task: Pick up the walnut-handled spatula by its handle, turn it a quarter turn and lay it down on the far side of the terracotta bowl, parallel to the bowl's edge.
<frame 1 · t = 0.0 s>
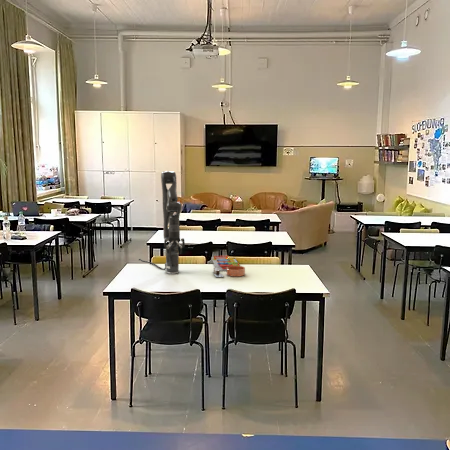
hand: (174, 253, 315), 17 cm above the table, tool pointing down, fingers open, 8 cm apart
gear board: (226, 264, 358), on the table
bowl: (235, 274, 325), on the table
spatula: (217, 275, 324), on the table
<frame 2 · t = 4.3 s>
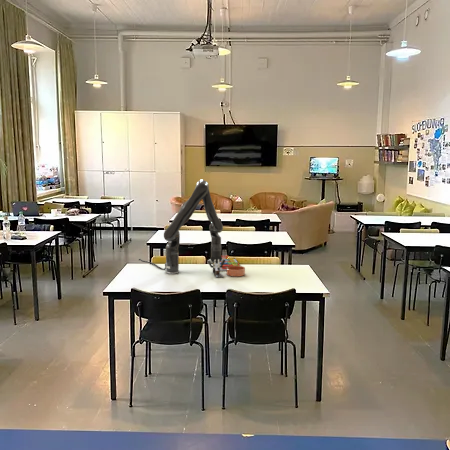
hand: (216, 272, 329), 0 cm above the table, tool pointing down, fingers closed on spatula, 2 cm apart
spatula: (217, 275, 324), on the table, touching gripper
everything else where it was.
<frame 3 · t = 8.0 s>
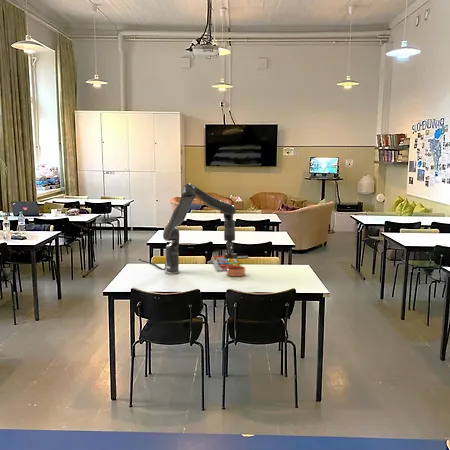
hand: (229, 257, 314), 14 cm above the table, tool pointing down, fingers closed on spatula
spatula: (236, 258, 315), point 14 cm above the table, touching gripper
everything else where it was.
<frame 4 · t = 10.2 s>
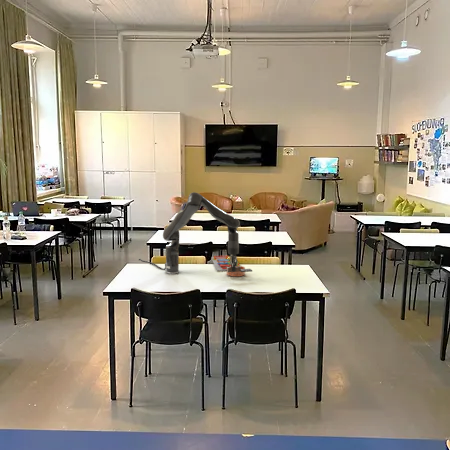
hand: (233, 271, 311), 6 cm above the table, tool pointing down, fingers closed on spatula
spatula: (240, 271, 313), point 6 cm above the table, touching gripper
everything else where it was.
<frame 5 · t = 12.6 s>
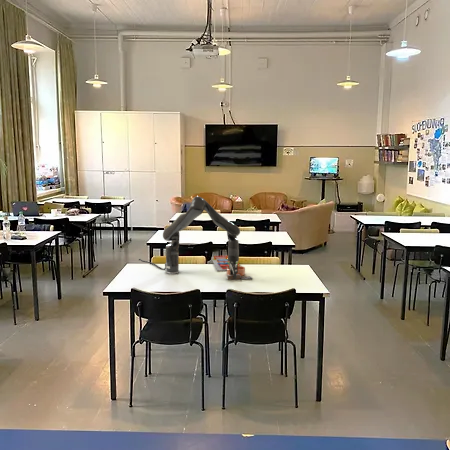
hand: (233, 276, 312), 2 cm above the table, tool pointing down, fingers open, 8 cm apart
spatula: (240, 279, 313), on the table
everything else where it was.
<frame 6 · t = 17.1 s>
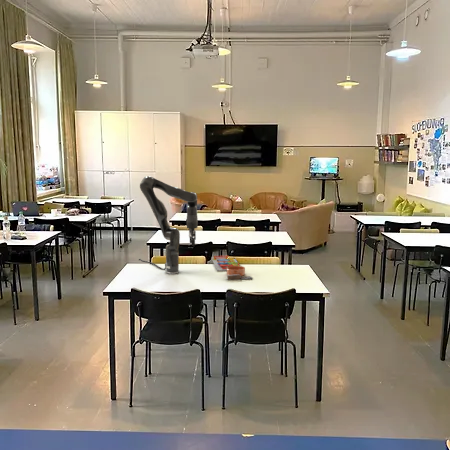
hand: (192, 244, 312), 24 cm above the table, tool pointing down, fingers open, 8 cm apart
nothing on the table moved.
at the end: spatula inside the target area (0.4 cm from its centre), on the table; the gripper is holding nothing; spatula tilted 0° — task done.
